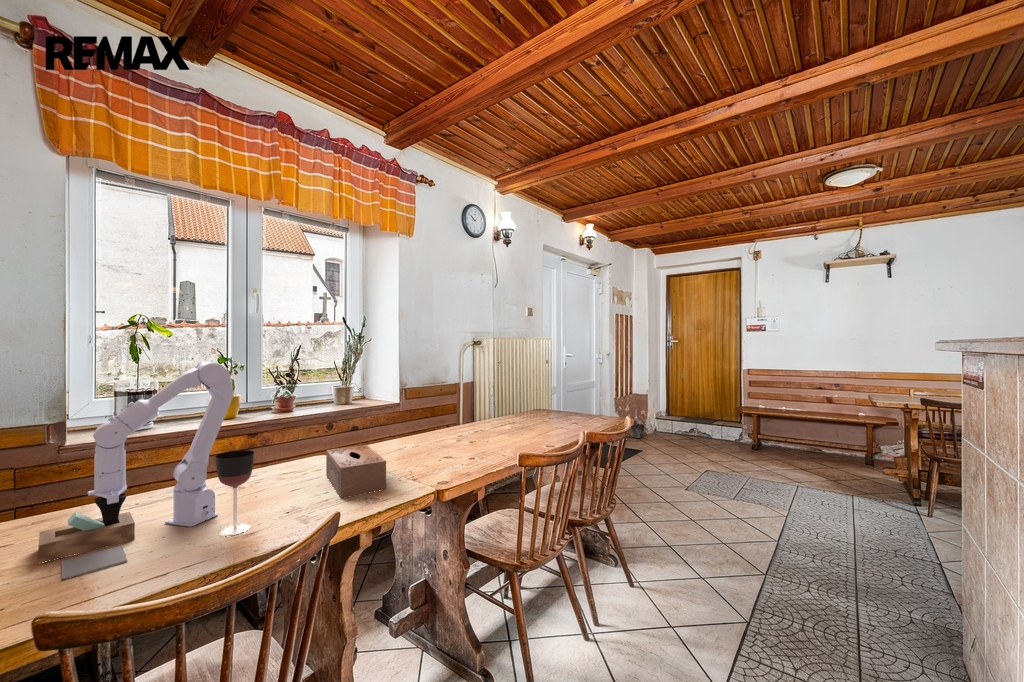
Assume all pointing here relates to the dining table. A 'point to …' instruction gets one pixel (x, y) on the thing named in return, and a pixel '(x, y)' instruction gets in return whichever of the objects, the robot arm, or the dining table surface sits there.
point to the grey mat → (93, 562)
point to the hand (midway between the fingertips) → (110, 524)
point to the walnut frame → (84, 538)
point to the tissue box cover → (355, 470)
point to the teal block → (84, 522)
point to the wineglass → (235, 479)
